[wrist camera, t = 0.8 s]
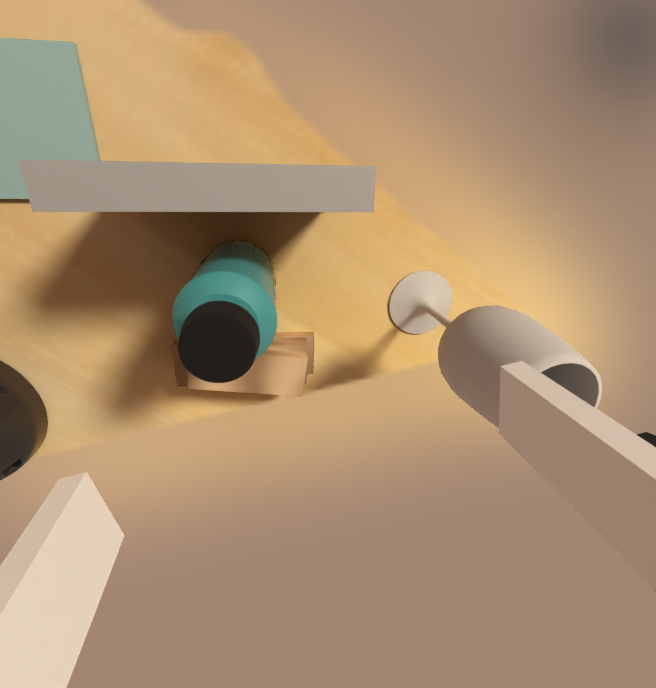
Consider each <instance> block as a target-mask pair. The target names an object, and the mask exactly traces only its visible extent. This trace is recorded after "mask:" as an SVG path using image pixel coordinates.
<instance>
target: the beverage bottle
mask: <svg viewBox="0 0 656 688" xmlns="http://www.w3.org/2000/svg"><path fill="white" fill-rule="evenodd" d="M224 242H225V241H224ZM261 249H262V248H261ZM261 249H259V248H258V247H257V246H256V244H255V245H253V244H251V243H248V242H244V241H233V240H232V241H230V242H229V241H228V242H226V243H224V244H222V245H218V247H217V248H216V249H215V250H214V251H213V252H212V253H211V254H210V255H209V257H208V258H207V259H204V260H205V262H204V263H203V264H202V262H203V261H204V260H203V261H202V262H201V264H202V265H201V264H200V265H201V266H200V268H199V269H198V270H197V272H195V275H194V276H193V277H192V279H191V280H190V281H189V282H188V283H187V284H186V285H185V286H184V287H183V288H182V289H181V291H180V292H179V293H178V295H177V297H176V299H175V302H174V304H173V309H172V324H173V328H174V331H175V334H176V336H177V338H178V352H179V356H180V359H181V361H182V363H183V365H184V366H185V368H186V369H187V370H188V371H189V372H190V373H191V374H192V375H194V376H195V377H197V378H199V379H201V380H204V381H207V382H211V383H226V382H230V381H234V380H236V379H238V378H240V377H242V376H243V375H244V374H245V373H246V372H247V371H248V370H249V369H250V368H251V366H252V365H253V363H254V361H255V359H257V358H258V357H260V356H261V355H262V354H263V353H264V352H265V351H266V350H267V349H268V348H269V346H270V345H271V343H272V341H273V339H274V337H275V333H276V329H277V313H276V309H275V295H276V294H275V289H274V286H275V285H276V281H275V280H273V271H272V266H271V260H270V261H269V259H268V256H266V255H267V254H266V252H265V253H264V252H263V251H262V250H261ZM212 250H213V249H212ZM212 250H211V251H212ZM265 254H266V255H265ZM206 257H207V256H206ZM273 269H274V268H273ZM274 276H275V275H274ZM274 278H275V277H274ZM274 281H275V285H274ZM276 297H277V296H276ZM276 305H277V304H276Z"/></svg>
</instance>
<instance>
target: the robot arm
mask: <svg viewBox="0 0 656 688" xmlns="http://www.w3.org/2000/svg"><path fill="white" fill-rule="evenodd" d="M47 426H48V420H47V413H46V409H45V406H44V404H43V402H42V399H41V398H40V396H39V394H38V393H37V391H36V390H35V389H34V387H33V386H32V385H31V384H30V383H29V382H28V381H27V380H26V379H25V378H24V377H23V376H22V375H21V374H20V373H18V372H17V371H16V370H14V369H13V368H12V367H10V366H9V365H7V364H5V363H4V362H2V361H0V480H2V479H4V478H5V477H7V476H9V475H11V474H12V473H14V472H15V471H17V470H18V469H19V468H21V467H22V466H23V465H24V464H25V463H26V462H27V461H28V460H29V459H30V458H31V457H32V455H33V454H34V453H35V452H36V451H37V450H38V449H39V447H40V446H41V444H42V443H43V441H44V439H45V436H46V433H47ZM499 434H500V435H501V436H502V437H503V438H504V439H505V440H506V441H507V442H508V443H509V444H510V445H511V446H512V447H513V448H514V449H515V450H516V451H517V452H518V453H519V454H520V455H521V456H522V457H523V458H524V459H525V460H526V461H527V462H528V463H529V464H530V465H531V466H532V467H533V468H534V469H535V470H536V471H537V472H538V473H539V474H540V475H541V476H542V477H543V478H544V479H545V480H546V481H547V482H548V483H549V484H550V485H551V486H552V487H553V488H554V489H555V490H556V491H557V492H558V493H559V494H560V495H561V496H562V497H563V499H564V500H565V501H566V502H567V503H568V504H570V505H571V507H573V508H574V510H575V511H576V512H577V513H578V514H579V515H580V516H581V517H582V518H583V519H584V520H585V521H586V522H587V523H588V524H589V525H590V526H591V527H592V528H593V529H594V530H595V531H596V532H597V533H598V534H599V535H600V536H601V537H602V538H603V539H604V540H605V541H606V542H607V543H608V544H609V545H610V546H611V547H612V548H613V549H614V550H615V551H616V552H617V553H618V554H619V555H620V556H621V557H622V558H623V559H624V560H625V561H626V562H627V563H628V564H629V565H630V566H631V567H632V568H633V569H634V570H635V571H636V572H637V573H638V574H639V575H640V576H641V577H642V578H643V579H644V580H645V581H646V582H647V583H648V584H649V585H650V586H651V588H652V589H654V591H655V592H656V436H655V435H653V434H650V433H647V432H645V433H641V434H637V435H636V434H634V433H633V432H631V431H629V430H628V429H626V428H625V427H623V426H622V425H620V424H619V423H617V422H616V421H614V420H613V419H611V418H610V417H608V416H607V415H605V414H603V413H602V412H600V411H599V410H597V409H596V408H594V407H593V406H591V405H590V404H588V403H587V402H585V401H583V400H582V399H580V398H579V397H577V396H576V395H574V394H573V393H571V392H570V391H568V390H567V389H565V388H563V387H562V386H560V385H559V384H557V383H556V382H554V381H553V380H551V379H550V378H548V377H547V376H545V375H543V374H542V373H540V372H539V371H537V370H536V369H534V368H533V367H531V366H530V365H528V364H526V363H525V362H523V361H519V362H515V363H511V364H507V365H503V366H500V408H499ZM123 538H124V534H123V532H122V531H121V529H120V528H119V526H118V524H117V522H116V521H115V519H114V518H113V516H112V514H111V512H110V511H109V509H108V507H107V506H106V504H105V502H104V501H103V499H102V497H101V495H100V494H99V492H98V490H97V489H96V487H95V486H94V484H93V482H92V480H91V479H90V477H89V475H88V474H87V472H84V473H80V474H76V475H72V476H68V477H64V478H61V479H59V480H58V482H57V483H56V485H55V486H54V487H53V489H52V490H51V492H50V493H49V495H48V496H47V498H46V499H45V501H44V502H43V504H42V505H41V507H40V508H39V510H38V511H37V513H36V514H35V515H34V517H33V518H32V520H31V521H30V523H29V524H28V526H27V527H26V529H25V530H24V532H23V533H22V535H21V536H20V538H19V539H18V540H17V542H16V543H15V545H14V547H13V548H12V549H11V551H10V552H9V554H8V555H7V557H6V558H5V560H4V561H3V563H2V564H1V565H0V688H66V687H67V685H68V682H69V679H70V677H71V674H72V672H73V669H74V666H75V663H76V661H77V658H78V656H79V653H80V651H81V648H82V645H83V643H84V640H85V637H86V634H87V632H88V630H89V627H90V624H91V622H92V619H93V616H94V614H95V611H96V609H97V606H98V603H99V601H100V598H101V595H102V593H103V590H104V588H105V585H106V582H107V580H108V577H109V575H110V572H111V569H112V567H113V564H114V561H115V558H116V556H117V554H118V551H119V548H120V546H121V543H122V540H123Z"/></svg>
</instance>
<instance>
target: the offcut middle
mask: <svg viewBox="0 0 656 688" xmlns="http://www.w3.org/2000/svg"><path fill="white" fill-rule="evenodd" d="M269 347H272V348H282V349H293V350H304V351H306V352H307V347H308V345H307V341H306V338H274V339H273V341H272V343H271V345H270V346H269ZM172 348H173V357H174V365H175V374H176V382H177V386H188V370H187V369H186V368H185V366H184V365H183V363H182V361H181V359H180V356H179V352H178V338H177V339H176V341H175V342H174V344H173V345H172ZM306 374H307V369H306ZM304 383H306V375H305V382H304Z"/></svg>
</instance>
